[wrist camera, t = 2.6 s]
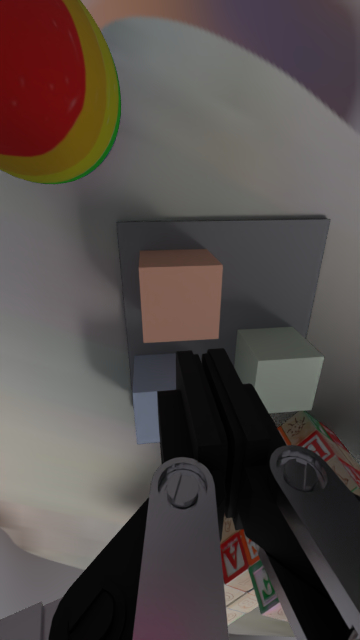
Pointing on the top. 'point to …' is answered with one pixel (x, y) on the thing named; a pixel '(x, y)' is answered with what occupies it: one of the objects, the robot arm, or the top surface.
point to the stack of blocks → (240, 552)
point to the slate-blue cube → (151, 392)
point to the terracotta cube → (180, 295)
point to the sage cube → (279, 367)
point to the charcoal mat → (231, 275)
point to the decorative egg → (55, 91)
